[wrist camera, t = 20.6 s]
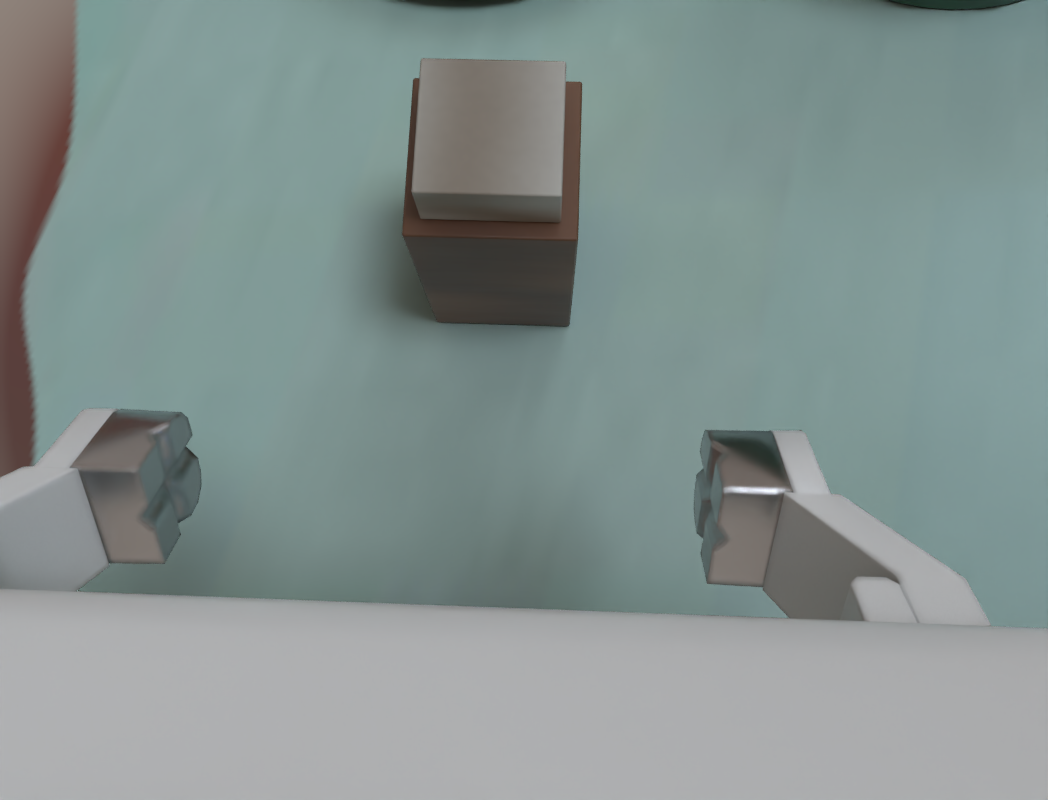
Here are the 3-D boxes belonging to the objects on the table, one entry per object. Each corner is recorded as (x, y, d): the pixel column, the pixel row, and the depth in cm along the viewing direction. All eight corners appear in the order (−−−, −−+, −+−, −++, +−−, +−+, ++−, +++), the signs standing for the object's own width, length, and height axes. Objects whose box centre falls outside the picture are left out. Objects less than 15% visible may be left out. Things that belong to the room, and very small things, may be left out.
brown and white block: (573, 202, 27) (585, 44, 19) (569, 326, 26) (580, 214, 18) (444, 199, 27) (403, 40, 19) (436, 322, 26) (390, 209, 18)
